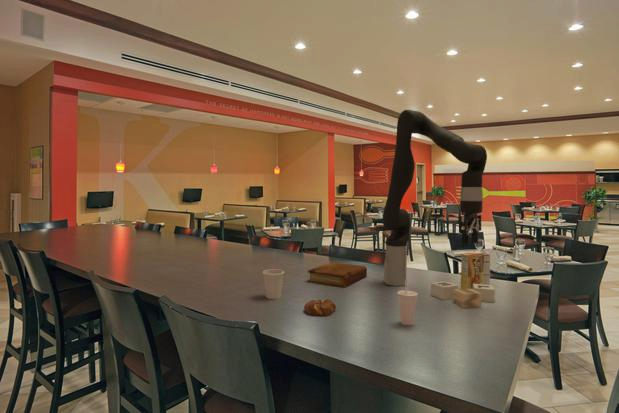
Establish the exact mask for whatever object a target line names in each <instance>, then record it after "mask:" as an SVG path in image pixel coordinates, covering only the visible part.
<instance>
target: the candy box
mask: <svg viewBox="0 0 619 413" xmlns="http://www.w3.org/2000/svg"><path fill="white" fill-rule="evenodd" d="M483 266H484V254H482V253H477V252H476V253H474V252H468V253H461V266H460V267H461V269H460V288H459V289H473V284H483Z"/></svg>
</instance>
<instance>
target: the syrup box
mask: <svg viewBox="0 0 619 413" xmlns="http://www.w3.org/2000/svg"><path fill="white" fill-rule="evenodd" d="M476 252H477V253H482V254H484V266H483V285H491V253H490V252H488V251H486V250H475V251H474V252H473V253H476Z"/></svg>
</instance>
